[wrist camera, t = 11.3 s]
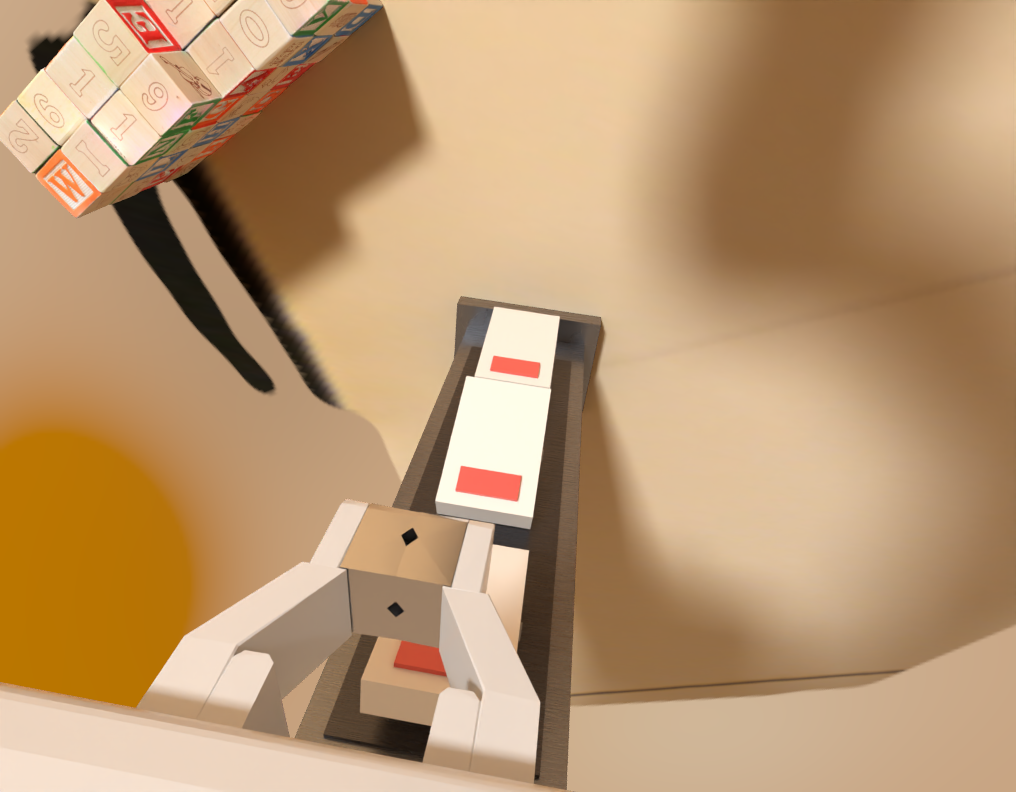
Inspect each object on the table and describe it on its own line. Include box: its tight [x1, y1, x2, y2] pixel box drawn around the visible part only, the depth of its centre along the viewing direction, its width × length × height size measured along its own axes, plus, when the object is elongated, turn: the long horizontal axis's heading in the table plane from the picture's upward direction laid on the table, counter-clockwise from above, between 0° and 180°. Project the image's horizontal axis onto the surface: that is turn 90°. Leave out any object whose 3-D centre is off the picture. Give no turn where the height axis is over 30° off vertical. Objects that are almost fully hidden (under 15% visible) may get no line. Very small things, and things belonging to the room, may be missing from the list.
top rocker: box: [360, 544, 529, 726], centre depth 23 cm, size 2×5×8 cm, turn 84°
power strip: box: [295, 296, 601, 790], centre depth 35 cm, size 10×12×40 cm
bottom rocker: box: [475, 307, 560, 389], centre depth 41 cm, size 2×5×8 cm, turn 84°
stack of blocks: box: [0, 0, 383, 218], centre depth 36 cm, size 21×6×12 cm, turn 122°
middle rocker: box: [435, 376, 551, 529], centre depth 32 cm, size 2×5×8 cm, turn 84°
